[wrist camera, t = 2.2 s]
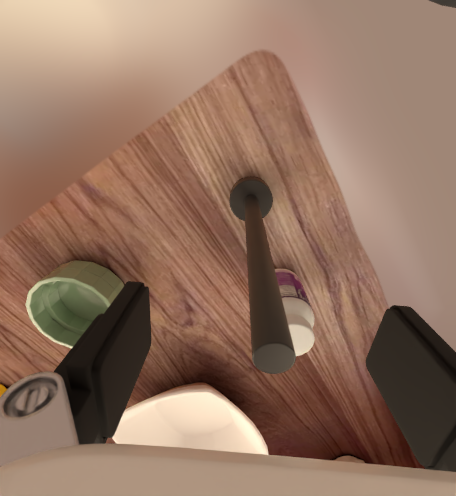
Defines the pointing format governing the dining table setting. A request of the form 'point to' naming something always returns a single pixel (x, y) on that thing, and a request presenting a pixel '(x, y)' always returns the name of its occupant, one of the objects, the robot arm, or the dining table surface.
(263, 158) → the dining table surface
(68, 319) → the green round dish
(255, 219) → the disc-footed rod
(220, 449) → the bowl
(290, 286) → the pill bottle
